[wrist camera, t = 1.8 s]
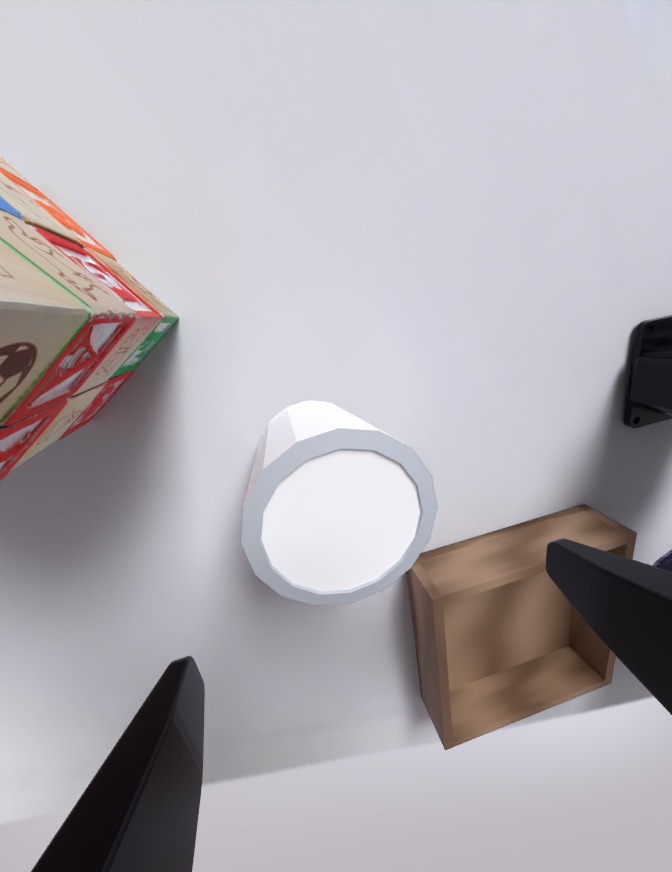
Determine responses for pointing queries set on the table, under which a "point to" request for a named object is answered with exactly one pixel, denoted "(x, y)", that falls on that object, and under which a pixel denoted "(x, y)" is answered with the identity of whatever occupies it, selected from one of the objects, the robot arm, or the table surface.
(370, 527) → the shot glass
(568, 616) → the walnut crate
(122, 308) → the stack of blocks
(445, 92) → the table surface
